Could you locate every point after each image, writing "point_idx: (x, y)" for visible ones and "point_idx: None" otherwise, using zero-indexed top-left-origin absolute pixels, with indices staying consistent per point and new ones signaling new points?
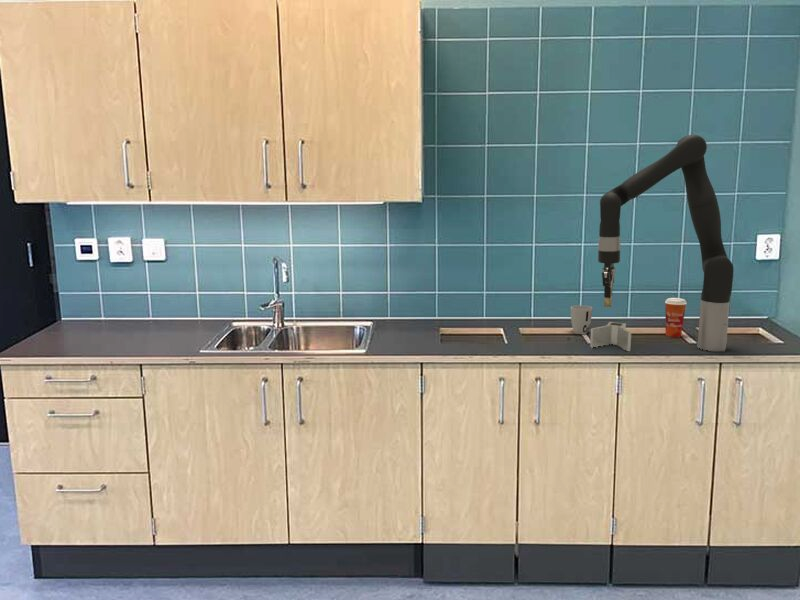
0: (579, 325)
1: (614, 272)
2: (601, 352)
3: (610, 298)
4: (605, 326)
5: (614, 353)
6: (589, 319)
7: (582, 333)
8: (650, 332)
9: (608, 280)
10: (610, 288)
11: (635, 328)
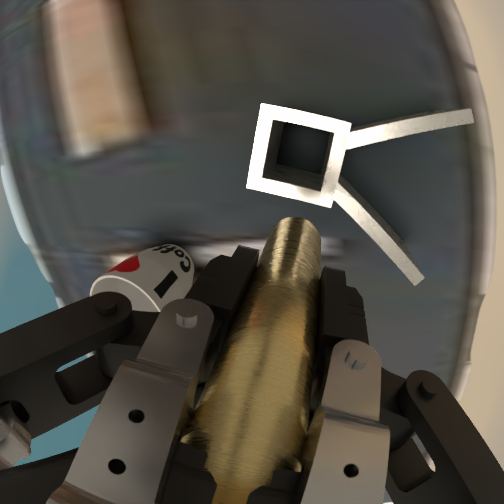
0: (189, 288)
1: (82, 478)
2: (452, 215)
3: (313, 257)
4: (366, 217)
5: (460, 171)
6: (161, 264)
7: (191, 261)
8: (104, 41)
9: (481, 458)
10: (349, 334)
11: (69, 94)
